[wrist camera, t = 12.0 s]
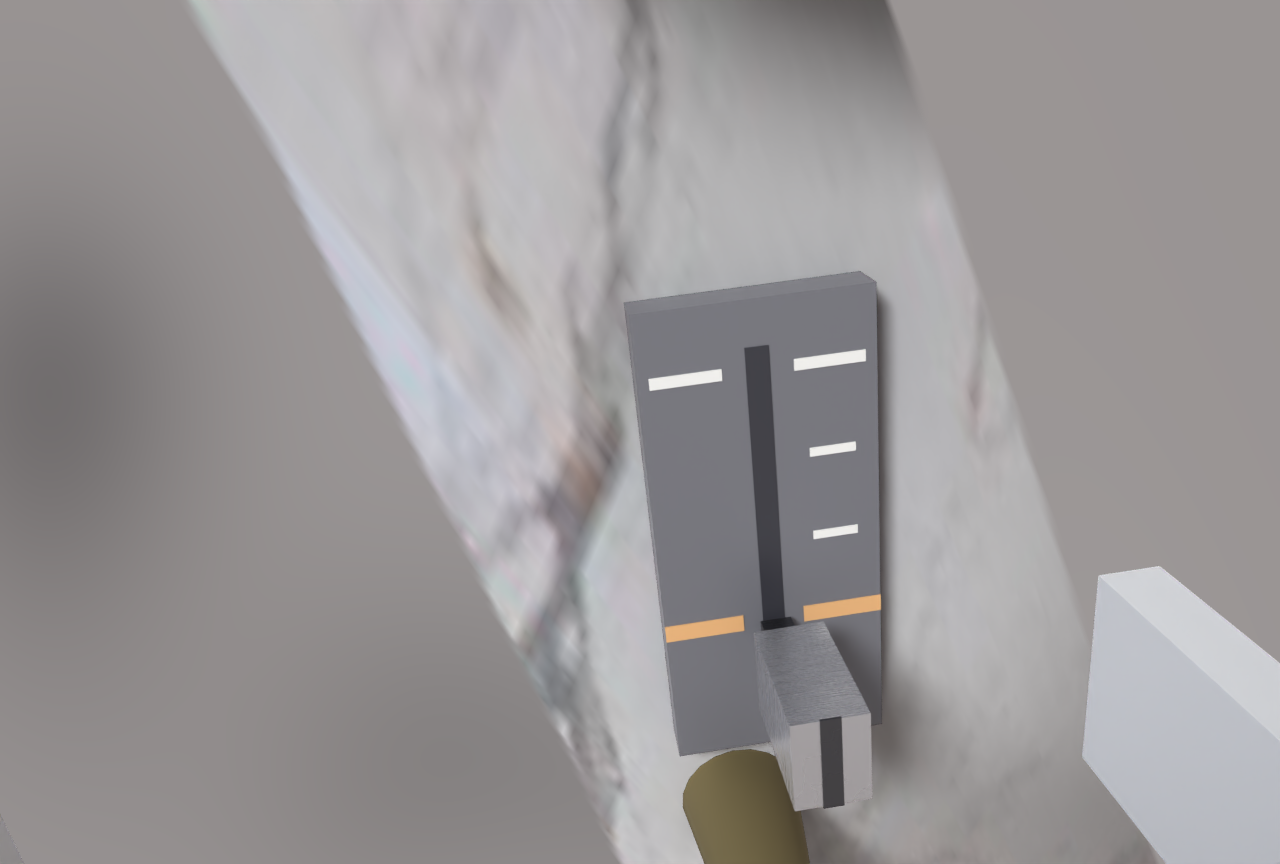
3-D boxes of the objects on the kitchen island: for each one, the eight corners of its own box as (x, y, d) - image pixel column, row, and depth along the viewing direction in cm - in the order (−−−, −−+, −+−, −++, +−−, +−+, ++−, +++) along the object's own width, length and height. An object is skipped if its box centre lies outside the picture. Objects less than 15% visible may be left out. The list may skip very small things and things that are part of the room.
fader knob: (741, 598, 42) (790, 726, 34) (806, 588, 42) (871, 713, 34) (746, 674, 43) (795, 813, 35) (810, 664, 43) (873, 800, 35)
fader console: (623, 302, 39) (628, 315, 37) (860, 271, 39) (876, 281, 37) (673, 728, 47) (679, 757, 45) (868, 697, 47) (882, 724, 46)
